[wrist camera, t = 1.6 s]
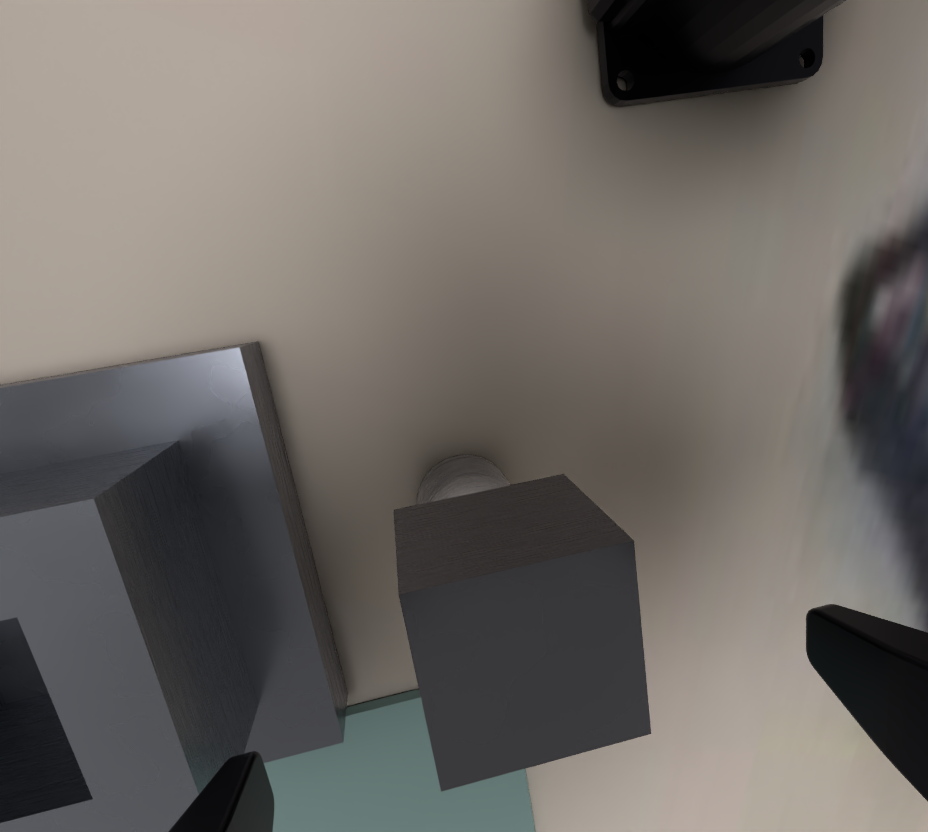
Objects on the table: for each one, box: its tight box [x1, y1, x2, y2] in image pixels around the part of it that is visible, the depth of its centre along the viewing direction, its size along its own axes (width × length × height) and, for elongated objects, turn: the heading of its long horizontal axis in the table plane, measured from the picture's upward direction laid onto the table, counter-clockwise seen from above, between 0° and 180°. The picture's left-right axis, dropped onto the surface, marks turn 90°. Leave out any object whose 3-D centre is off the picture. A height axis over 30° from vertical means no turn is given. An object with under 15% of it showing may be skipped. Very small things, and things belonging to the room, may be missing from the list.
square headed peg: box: [394, 455, 651, 792], centre depth 13 cm, size 4×4×8 cm
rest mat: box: [264, 689, 535, 832], centre depth 19 cm, size 9×9×1 cm
